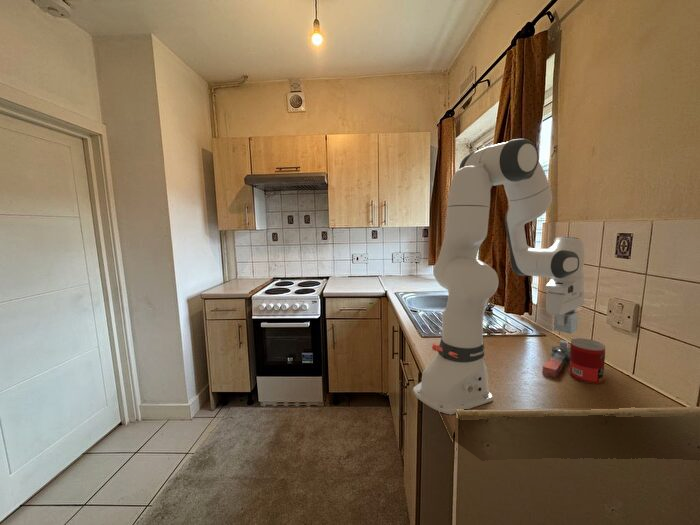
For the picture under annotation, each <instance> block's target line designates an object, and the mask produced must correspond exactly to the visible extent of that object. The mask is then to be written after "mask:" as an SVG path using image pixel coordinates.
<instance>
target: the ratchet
mask: <svg viewBox="0 0 700 525" xmlns="http://www.w3.org/2000/svg"><path fill="white" fill-rule="evenodd" d="M550 351H551V354H550V356H551V357H549V359H547V361H546V362H545V364H544V365H542V375H543V376H546V377H550V378H553V379H556V378H557V377H558V375H559V374H560V372H561V371H562V369H563V366H564V365H565V363H566V362H570V346H569V341H567V340H562V339H561V340H560V341H559V345H554V346H553V345H552V346H551V350H550Z"/></svg>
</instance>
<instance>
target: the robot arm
mask: <svg viewBox="0 0 700 525" xmlns="http://www.w3.org/2000/svg"><path fill="white" fill-rule="evenodd" d="M500 185H501V186H502V185H503V186H504V187H503V188H504V191H505V195H506V196H505V197H506V198H507V202H508V210H506V212H505V214H504V225H505V233H506V239H507V245H508V249H509V265H510V268H511V270H512V271H513V272H514V273H515V274H516V275H518V276H523V277H524V276H525V277H528V276H529V277H531V276H532V277H538V278H539V277H540V278H549V282H547V284H546V285H545V286H544V292H547V293H546V295H545V310H546V313H547V315H549V316H553V317H554V316H556V317H557V320H558V325H561V326H563V325H565V322H566V320H564V316H565V313H568V312H570V311H575V312H577V309H578V308H581V307H583V306H584V304H585V289H584V282H585V279H584V277H585V275H584V270H583V268H584V266H585V248H584V243H583V240H582V239H580V238H579V237H573V236H570V237H569V236H560V237H559V236H558V237H555V238H554V241H553V244H552V245H551V246H550V247H548V248H541V247H540V248H538V247H537V248H535V247H531V246H529V245H528V241H527V238H526V236H527V235H526V229H525V225H526V224H527V223H531V222H532V221H535V220H536V219H538V218H540V217H541V216H542V215H544V214H545V213H546V212H547V211H548V210H549V209H550V207H551V206H552V203H553V194H552V190H551V186H550V183H549V180H548V177H547V175H546V172H545V170H544V168H543V166H542V165H541V163H540V161H539V151H538V148H537V147H536V145H535V144H534V143H533V142H532V141H530V140H529V139H527V138H516V139H511V140H509V141H506V142H501V143H497V144H491V145H488V146H486V147H483V148H480V149H479V150H476V151H473V152H471V153H469V154H467V155H466V156H465V157H464V158H463V159H462V160H461V162H460V164H459V167H458V169H457V171H455V173H454V174H453V176H452V180H451V182H450V186H449V191H448V197H447V206H446V207H447V208H446V216H445V227H444V228H445V229H444V234H443V241H442V244H441V246H440V251H439V254H438V259H437V261H436V262H435V263H434V267H433V270H432V271H433V276H434V279H435V280H436V282H437V283H438V284H439V286H441V287H442V288H444V289H445V290H447V293H448V296H447V303H446V306H445V309H444V310H443V312H442V315H441V330H442V331H441V333H442V335H441V338H440V342H439V344H437V343H433V344H432V346H431V350H432V351H434V352H437V354H436V355H435V356H434V357H433V359H432V360H431V361H430V363H429V364H428V365H427V366H426V367H425V369H424V370H423V371H422V375H421V381H420V382H419V383H417V384H416V385H415V386H413V388H412V393H413V394H414V396H416V398H417V399H418V400H420V402H422V403H423V404H425V405H427V406H428V407H429V408H431V409H434V411H435V410H436V411H438V412H440V413H443V414H447V415H453V414H456V413H455V410H456V409H467V410H470V409H473V408H475V407H479V406H482V405H484V404H487V403H491V402H492V401H494V400H493V399H494V396H493V394H492V393H491V392H490V385H489V375H488V367H487V366H486V364H485V359H484V356H485V350H486V349H485V342H484V341H483V334H484V333H483V332H484V331H483V329H484V328H483V327H484V325H483V324H484V316H485V312H486V308H487V304H488V302H489V300H490V298H492V297H493V296H494V295H495V293H496V292H497V290H498V288H499V285H500V284H499V276H498V273H497V271H496V270H495V269H494V268H493V267H491V266H490V265H489V264H487V263H485V261H482V260H480V259H476V258H477V255H478V253H479V249H480V247H481V246H482V243H483V242H484V241H485V239H486V238H487V236H488V231H489V218H490V207H491V189H492V187H493V186H500Z"/></svg>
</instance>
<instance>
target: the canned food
mask: <svg viewBox="0 0 700 525" xmlns="http://www.w3.org/2000/svg"><path fill="white" fill-rule="evenodd" d="M569 348H570V361H569V374H570V376H571V377H573V378H574V379H575V380H578V381H580V382H583V383H586V382H587V384H592V383H593V385H596V384H597V383H598V384H601V383H603V381H604V379H605V377H604V375H605V364H606V363H605V360H606V345H605V344H604V343H602V342H600V341H597V340H594V339H590V338H589V339H588V338H581V337H580V338H579V337H577V338H572V339H570V346H569Z"/></svg>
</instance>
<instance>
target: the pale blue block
mask: <svg viewBox="0 0 700 525" xmlns="http://www.w3.org/2000/svg"><path fill="white" fill-rule="evenodd" d="M578 314H579V312H578V311H576V312H575V311H570V312H568V313H565V316H564V320H566V322H565V325H563V326H561V325H558V320H557V317H556V316H553V319H554V321H553V322H554V323H553V325H554V326H553V330H554V331H558V332H563V333H566V334H573V333H575V332H576V331H578V319H579V318H578Z"/></svg>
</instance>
